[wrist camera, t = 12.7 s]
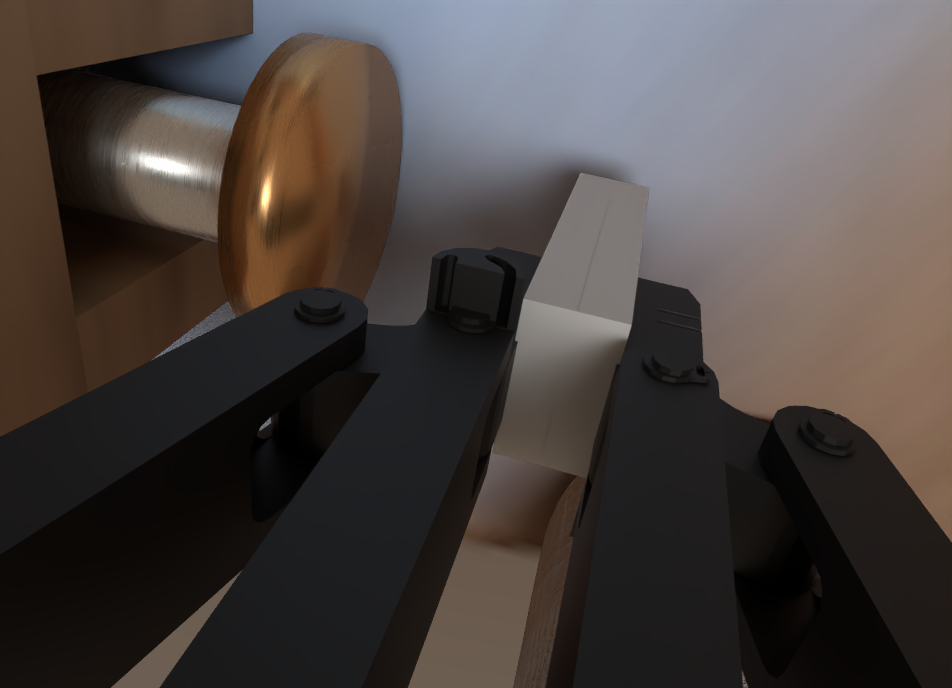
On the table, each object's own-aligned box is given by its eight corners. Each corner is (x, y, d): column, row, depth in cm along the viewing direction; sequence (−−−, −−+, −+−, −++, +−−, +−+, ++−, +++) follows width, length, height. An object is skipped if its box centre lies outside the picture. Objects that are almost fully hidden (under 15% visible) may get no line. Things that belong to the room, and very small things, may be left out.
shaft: (-52, 169, 22) (-298, 243, 16) (-110, -73, 18) (-442, -82, 13) (390, 278, 20) (278, 403, 14) (412, 28, 16) (280, 68, 11)
